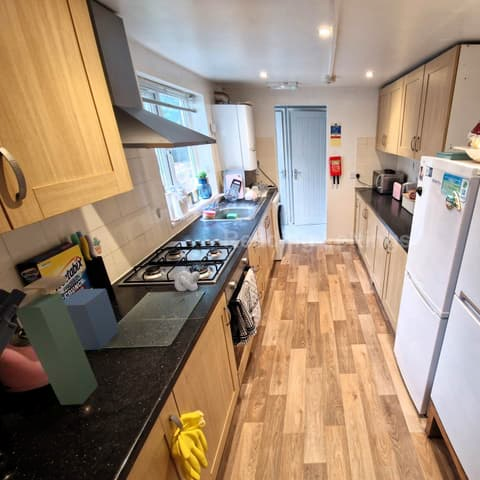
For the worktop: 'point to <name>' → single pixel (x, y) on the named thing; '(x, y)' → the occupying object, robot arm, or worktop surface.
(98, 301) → the blue box
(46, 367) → the green block
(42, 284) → the tan slab
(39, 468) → the worktop surface
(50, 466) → the worktop surface
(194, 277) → the white knot
